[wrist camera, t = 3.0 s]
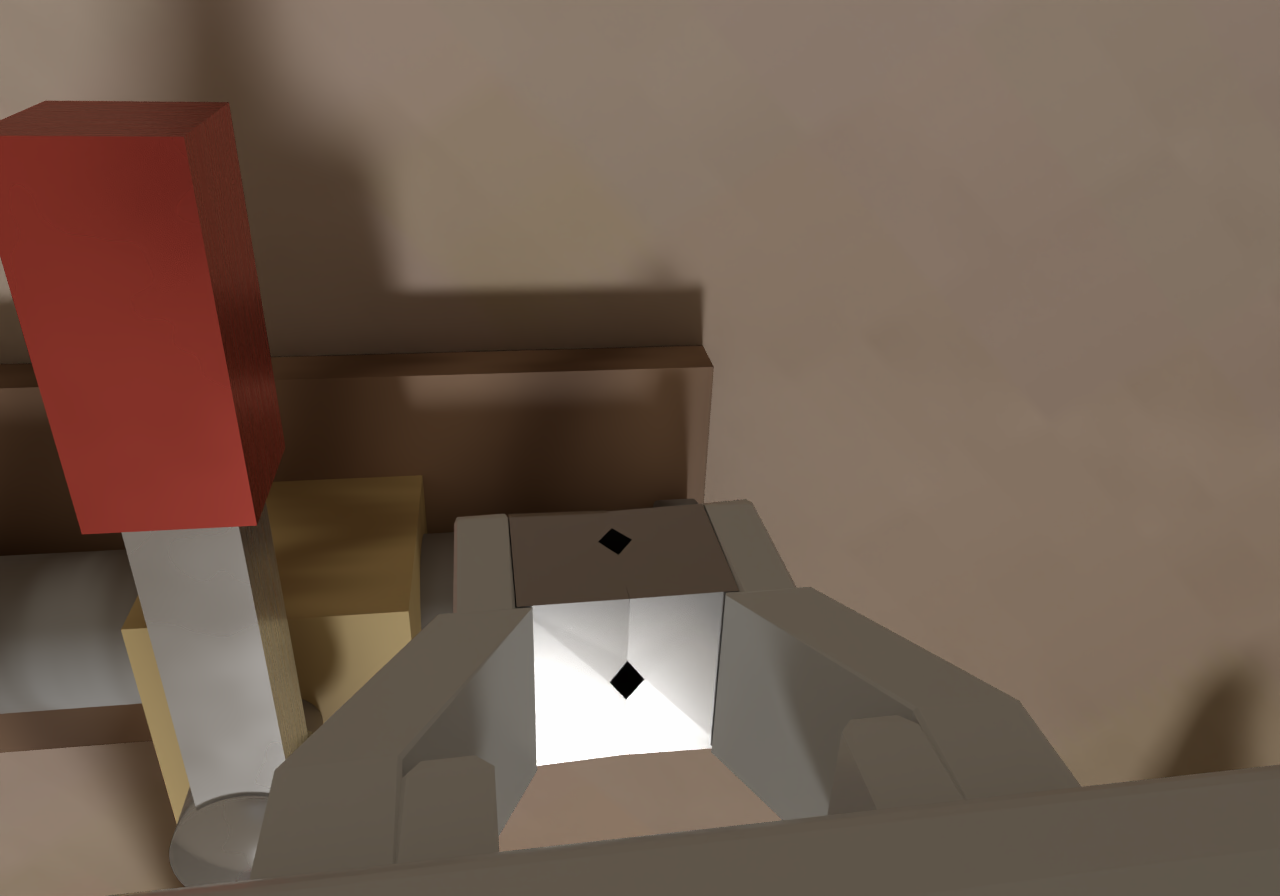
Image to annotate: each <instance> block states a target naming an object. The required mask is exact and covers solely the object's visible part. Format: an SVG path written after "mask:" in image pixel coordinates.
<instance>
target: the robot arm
mask: <svg viewBox="0 0 1280 896" xmlns="http://www.w3.org/2000/svg"><path fill="white" fill-rule="evenodd" d="M707 748H712V751H711V752H712V753H713V754H714V755H715V756H716V757H717V758H718V759H719V760H720V761H721V762H722V763H723V764H724V765H725V766H727V767H728V768H729V769H730V770H731V771H732V772H733V773H734V774H735V775H736V776H737V777H738V778H739V779H740V780H741V781H742V782H743V783H744V784H745V785H746V786H747V787H749V788H750V789H751V790H752V791H753V792H754V793H755V794H756V795H757V796H758V797H759V798H760V799H761V800H762V801H763V802H764V803H765V804H766V805H767V806H768V807H770V808H771V809H772V810H773V811H774V812H775V813H776V814H777V815H778V816H779V817H780V818H781V819H782V820H781V821H773V822H764V823H755V824H746V825H737V826H728V827H719V828H710V829H701V830H692V831H683V832H674V833H665V834H656V835H647V836H638V837H629V838H621V839H612V840H603V841H594V842H585V843H576V844H567V845H558V846H549V847H540V848H531V849H522V850H513V851H504V852H499V838H498V836H499V835H500V833H501V831H502V830H503V828H504V826H505V824H506V823H507V821H508V819H509V818H510V816H511V814H512V813H513V811H514V809H515V807H516V806H517V804H518V802H519V801H520V799H521V797H522V795H523V794H524V792H525V790H526V789H527V787H528V785H529V783H530V782H531V780H532V778H533V777H534V775H535V773H536V771H537V765H544V764H552V763H560V762H568V761H576V760H583V759H591V758H599V757H607V756H615V755H623V754H624V753H625V754H637V753H651V752H665V751H679V750H693V749H707ZM110 896H1280V765H1272V766H1264V767H1255V768H1246V769H1237V770H1228V771H1219V772H1210V773H1201V774H1192V775H1183V776H1174V777H1165V778H1156V779H1147V780H1138V781H1129V782H1120V783H1111V784H1102V785H1093V786H1084V787H1081V786H1080V784H1079V783H1078V781H1077V780H1076V779H1075V777H1074V776H1073V774H1072V773H1071V772H1070V770H1069V769H1068V768H1067V766H1066V765H1065V763H1064V762H1063V761H1062V759H1061V758H1060V757H1059V755H1058V754H1057V752H1056V751H1055V750H1054V748H1053V747H1052V745H1051V744H1050V743H1049V741H1048V740H1047V739H1046V737H1045V736H1044V734H1043V733H1042V732H1041V730H1040V729H1039V727H1038V726H1037V725H1036V723H1035V722H1034V721H1033V719H1032V718H1031V716H1030V715H1029V714H1028V712H1027V711H1026V709H1025V708H1024V707H1023V705H1022V704H1021V703H1020V701H1019V700H1017V699H1015V698H1013V697H1011V696H1010V695H1008V694H1006V693H1004V692H1002V691H1000V690H999V689H997V688H995V687H993V686H991V685H989V684H988V683H986V682H984V681H982V680H980V679H978V678H977V677H975V676H973V675H971V674H969V673H967V672H966V671H964V670H962V669H960V668H958V667H956V666H955V665H953V664H951V663H949V662H947V661H945V660H944V659H942V658H940V657H938V656H936V655H934V654H933V653H931V652H929V651H927V650H925V649H923V648H922V647H920V646H918V645H916V644H914V643H912V642H911V641H909V640H907V639H905V638H903V637H901V636H900V635H898V634H896V633H894V632H892V631H890V630H889V629H887V628H885V627H883V626H881V625H879V624H878V623H876V622H874V621H872V620H870V619H868V618H867V617H865V616H863V615H861V614H859V613H857V612H856V611H854V610H852V609H850V608H848V607H846V606H845V605H843V604H841V603H839V602H837V601H835V600H834V599H832V598H830V597H828V596H826V595H824V594H823V593H821V592H819V591H817V590H815V589H813V588H812V587H803V588H797V587H796V585H795V583H794V582H793V580H792V578H791V576H790V574H789V572H788V570H787V568H786V566H785V564H784V562H783V560H782V559H781V557H780V555H779V553H778V551H777V549H776V547H775V545H774V543H773V541H772V539H771V537H770V536H769V534H768V532H767V530H766V528H765V526H764V524H763V522H762V520H761V518H760V516H759V514H758V513H757V511H756V509H755V507H754V505H753V503H752V502H750V501H748V500H746V499H743V500H733V501H723V502H713V503H703V504H691V505H679V506H667V507H655V508H643V509H631V510H619V511H606V510H601V511H576V512H550V513H524V514H508V517H507V516H506V515H505V514H492V515H479V516H465V517H457V518H456V520H455V523H454V581H453V613H447V614H439V615H437V616H436V617H435V618H434V619H433V620H432V621H431V622H430V623H429V624H428V625H426V626H425V627H424V628H423V629H422V630H421V631H420V632H419V633H418V634H417V635H416V636H415V637H414V638H413V639H412V640H411V641H410V642H409V643H408V644H407V645H406V646H404V647H403V648H402V649H401V650H400V651H399V652H398V653H397V654H396V655H395V656H394V657H393V658H392V659H391V660H390V661H389V662H388V663H387V664H386V665H385V666H383V667H382V668H381V669H380V670H379V671H378V672H377V673H376V674H375V675H374V676H373V677H372V678H371V679H370V680H369V681H368V682H367V683H366V684H365V685H364V686H363V687H361V688H360V689H359V690H358V691H357V692H356V693H355V694H354V695H353V696H352V697H351V698H350V699H349V700H348V701H347V702H346V703H345V704H344V705H343V706H342V707H340V708H339V709H338V710H337V711H336V712H335V713H334V714H333V715H332V716H331V717H330V718H329V719H328V720H327V721H326V722H325V723H324V724H323V725H322V726H321V727H319V728H318V729H317V730H316V731H315V732H314V733H313V734H312V735H311V736H310V737H309V738H308V739H307V740H306V741H305V742H304V743H303V744H302V745H301V746H300V747H299V748H297V749H296V750H295V751H294V752H293V753H292V754H291V755H290V756H289V757H288V758H287V759H286V760H285V761H284V762H283V763H282V764H281V765H280V766H279V767H278V768H276V769H275V770H274V775H273V779H272V783H271V788H270V792H269V796H268V801H267V805H266V809H265V814H264V818H263V822H262V827H261V831H260V835H259V840H258V844H257V849H256V853H255V857H254V861H253V866H252V870H251V875H250V879H249V880H244V881H235V882H226V883H217V884H208V885H199V886H190V887H181V888H172V889H163V890H154V891H146V892H137V893H128V894H119V895H110Z"/></svg>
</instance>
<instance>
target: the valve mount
mask: <svg viewBox="0 0 1280 896" xmlns="http://www.w3.org/2000/svg"><path fill="white" fill-rule="evenodd" d="M271 362H272V369H273V375H274V381H275V387H276V393H277V399H278V405H279V411H280V417H281V423H282V429H283V436H284V442H285V450H284V453H283V455H282V458H281V461H280V464H279V466H278V469H277V472H276V475H275V477H274V480H273V483H272V486H271V488H270V491H269V494H268V497H267V499H266V505H267V511H268V516H269V522H270V527H271V533H272V538H273V544H274V549H275V555H276V560H277V566H278V572H279V577H280V583H281V588H282V594H283V599H284V605H285V610H286V616H287V621H288V627H289V632H290V638H291V643H292V649H293V654H294V660H295V666H296V671H297V677H298V682H299V688H300V693H301V699H302V704H303V710H304V715H305V721H306V726H307V731H310V732H313V733H314V732H315V731H316V730H317V729H318V728H319V727H321V726H322V725H323V724H324V723H325V722H326V721H327V720H328V719H329V718H330V717H331V716H332V715H333V714H334V713H335V712H336V711H337V710H338V709H339V708H340V707H342V706H343V705H344V704H345V703H346V702H347V701H348V700H349V699H350V698H351V697H352V696H353V695H354V694H355V693H356V692H357V691H358V690H359V689H360V688H361V687H363V686H364V685H365V684H366V683H367V682H368V681H369V680H370V679H371V678H372V677H373V676H374V675H375V674H376V673H377V672H378V671H379V670H380V669H381V668H382V667H383V666H385V665H386V664H387V663H388V662H389V661H390V660H391V659H392V658H393V657H394V656H395V655H396V654H397V653H398V652H399V651H400V650H401V649H402V648H403V647H404V646H406V645H407V644H408V643H409V642H410V641H411V640H412V639H413V638H414V637H415V636H416V635H417V634H418V633H419V632H420V631H421V630H422V629H423V628H424V627H425V626H426V625H428V624H429V623H430V622H431V621H432V620H433V619H434V618H435V617H436V616H437V615H439V614H447V613H453V581H454V523H455V520H456V518H457V517H465V516H479V515H492V514H505V515H506V516H507V517H508V514H524V513H550V512H576V511H601V510H606V511H619V510H631V509H643V508H655V507H667V506H679V505H691V504H703V503H704V490H705V477H706V463H707V450H708V436H709V423H710V410H711V396H712V383H713V370H714V367H713V365H712V363H711V361H710V359H709V357H708V355H707V353H706V351H705V349H704V347H703V346H670V347H632V348H595V349H558V350H520V351H483V352H446V353H408V354H371V355H333V356H296V357H271ZM142 741H153V744H154V747H155V751H156V754H157V757H158V761H159V764H160V768H161V771H162V775H163V778H164V782H165V785H166V789H167V792H168V796H169V799H170V803H171V806H172V810H173V813H174V817H175V820H176V824H177V823H178V820H179V817H180V814H181V811H182V808H183V805H184V802H185V799H186V796H187V793H188V790H189V787H190V785H189V781H188V777H187V774H186V770H185V766H184V762H183V759H182V755H181V751H180V748H179V744H178V740H177V736H176V733H175V729H174V725H173V722H172V718H171V714H170V711H169V707H168V703H167V699H166V696H165V692H164V688H163V685H162V681H161V677H160V674H159V670H158V666H157V662H156V659H155V655H154V651H153V648H152V644H151V640H150V636H149V633H148V629H147V625H146V622H145V618H144V614H143V611H142V607H141V603H140V599H139V596H138V592H137V588H136V585H135V581H134V577H133V574H132V570H131V566H130V562H129V559H128V555H127V551H126V548H125V544H124V540H123V537H122V533H121V532H120V533H100V534H82V533H81V529H80V526H79V522H78V519H77V516H76V512H75V509H74V505H73V502H72V499H71V495H70V492H69V488H68V485H67V482H66V478H65V475H64V471H63V468H62V465H61V461H60V458H59V454H58V451H57V448H56V444H55V441H54V437H53V434H52V431H51V427H50V424H49V420H48V417H47V414H46V410H45V407H44V403H43V400H42V397H41V393H40V390H39V386H38V383H37V379H36V376H35V373H34V369H33V366H32V364H0V753H2V752H15V751H28V750H40V749H53V748H66V747H78V746H91V745H104V744H116V743H129V742H142Z"/></svg>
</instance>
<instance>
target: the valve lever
mask: <svg viewBox="0 0 1280 896" xmlns="http://www.w3.org/2000/svg"><path fill="white" fill-rule="evenodd" d="M0 257H1V260H2V264H3V267H4V271H5V274H6V277H7V281H8V284H9V288H10V291H11V294H12V298H13V301H14V305H15V308H16V311H17V315H18V318H19V322H20V325H21V328H22V332H23V335H24V339H25V342H26V345H27V349H28V352H29V356H30V359H31V362H32V366H33V369H34V373H35V376H36V379H37V383H38V386H39V390H40V393H41V397H42V400H43V403H44V407H45V410H46V414H47V417H48V420H49V424H50V427H51V431H52V434H53V437H54V441H55V444H56V448H57V451H58V454H59V458H60V461H61V465H62V468H63V471H64V475H65V478H66V482H67V485H68V488H69V492H70V495H71V499H72V502H73V505H74V509H75V512H76V516H77V519H78V522H79V526H80V529H81V533H82V534H100V533H120V532H121V533H122V537H123V540H124V544H125V548H126V551H127V555H128V559H129V562H130V566H131V570H132V574H133V577H134V581H135V585H136V588H137V592H138V596H139V599H140V603H141V607H142V611H143V614H144V618H145V622H146V625H147V629H148V633H149V636H150V640H151V644H152V648H153V651H154V655H155V659H156V662H157V666H158V670H159V674H160V677H161V681H162V685H163V688H164V692H165V696H166V699H167V703H168V707H169V711H170V714H171V718H172V722H173V725H174V729H175V733H176V736H177V740H178V744H179V748H180V751H181V755H182V759H183V762H184V766H185V770H186V774H187V777H188V781H189V785H190V787H189V790H188V793H187V796H186V799H185V802H184V805H183V808H182V811H181V814H180V817H179V820H178V823H177V826H176V829H175V832H174V835H173V838H172V841H171V845H170V849H169V860H170V865H171V867H172V870H173V872H174V874H175V875H176V877H177V878H178V880H179V881H180V882H181V883H182V884H183V885H184V886H185V887H190V886H199V885H208V884H217V883H226V882H235V881H244V880H249V879H250V875H251V870H252V866H253V861H254V857H255V853H256V849H257V844H258V840H259V835H260V831H261V827H262V822H263V818H264V814H265V809H266V805H267V801H268V796H269V792H270V788H271V783H272V779H273V775H274V770H275V769H276V768H278V767H279V766H280V765H281V764H282V763H283V762H284V761H285V760H286V759H287V758H288V757H289V756H290V755H291V754H292V753H293V752H294V751H295V750H296V749H297V748H299V747H300V746H301V745H302V744H303V743H304V742H305V741H306V740H307V739H308V738H309V737H310V736H311V735H312V734H313V732H310V731H307V726H306V721H305V715H304V710H303V704H302V699H301V693H300V688H299V682H298V677H297V671H296V666H295V660H294V654H293V649H292V643H291V638H290V632H289V627H288V621H287V616H286V610H285V605H284V599H283V594H282V588H281V583H280V577H279V572H278V566H277V560H276V555H275V549H274V544H273V538H272V533H271V527H270V522H269V516H268V511H267V505H266V499H267V497H268V494H269V491H270V488H271V486H272V483H273V480H274V477H275V475H276V472H277V469H278V466H279V464H280V461H281V458H282V455H283V453H284V450H285V442H284V436H283V429H282V423H281V417H280V411H279V405H278V399H277V393H276V387H275V381H274V375H273V369H272V362H271V356H270V350H269V344H268V338H267V332H266V326H265V320H264V314H263V308H262V302H261V295H260V289H259V283H258V277H257V271H256V265H255V259H254V253H253V247H252V241H251V235H250V228H249V222H248V216H247V210H246V204H245V198H244V192H243V186H242V180H241V174H240V168H239V161H238V155H237V149H236V143H235V137H234V131H233V125H232V119H231V113H230V107H229V102H133V101H44V102H41V103H39V104H37V105H34V106H32V107H30V108H28V109H25V110H23V111H21V112H18V113H16V114H14V115H11V116H9V117H7V118H5V119H2V120H0Z"/></svg>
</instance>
